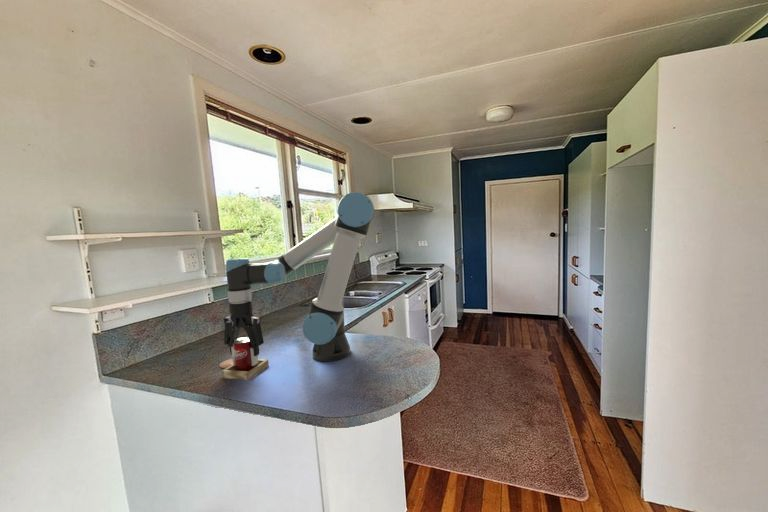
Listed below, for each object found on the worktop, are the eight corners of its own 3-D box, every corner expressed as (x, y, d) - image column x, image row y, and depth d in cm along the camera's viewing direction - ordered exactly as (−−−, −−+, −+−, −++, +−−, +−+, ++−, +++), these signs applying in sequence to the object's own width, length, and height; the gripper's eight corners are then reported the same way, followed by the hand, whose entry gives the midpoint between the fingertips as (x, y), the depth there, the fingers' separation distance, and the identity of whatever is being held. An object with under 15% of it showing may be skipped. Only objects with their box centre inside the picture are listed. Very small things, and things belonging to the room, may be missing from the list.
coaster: (247, 360, 121) (247, 358, 121) (232, 368, 113) (232, 367, 113) (230, 359, 123) (229, 357, 123) (214, 367, 115) (214, 366, 115)
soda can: (242, 378, 105) (240, 344, 104) (230, 373, 109) (228, 341, 108) (261, 369, 111) (258, 337, 110) (249, 366, 115) (246, 335, 114)
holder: (268, 366, 114) (268, 359, 114) (249, 380, 104) (248, 373, 103) (243, 364, 117) (243, 358, 117) (222, 377, 106) (221, 371, 106)
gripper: (271, 299, 110) (276, 360, 111) (224, 298, 114) (229, 358, 116) (258, 304, 102) (263, 369, 104) (208, 303, 107) (214, 366, 109)
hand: (245, 363), depth 110 cm, fingers closed on soda can, 7 cm apart
